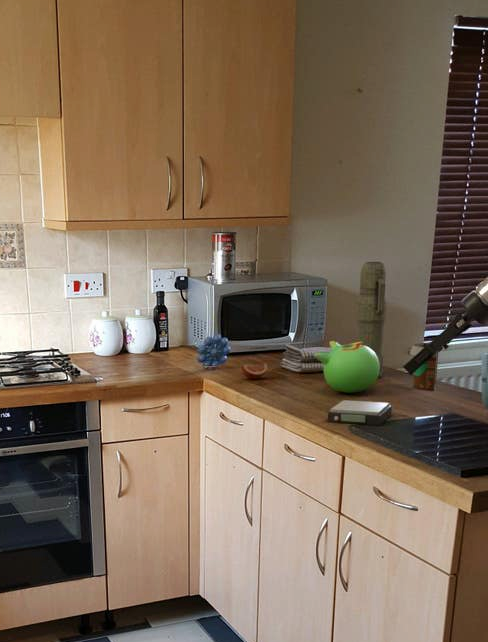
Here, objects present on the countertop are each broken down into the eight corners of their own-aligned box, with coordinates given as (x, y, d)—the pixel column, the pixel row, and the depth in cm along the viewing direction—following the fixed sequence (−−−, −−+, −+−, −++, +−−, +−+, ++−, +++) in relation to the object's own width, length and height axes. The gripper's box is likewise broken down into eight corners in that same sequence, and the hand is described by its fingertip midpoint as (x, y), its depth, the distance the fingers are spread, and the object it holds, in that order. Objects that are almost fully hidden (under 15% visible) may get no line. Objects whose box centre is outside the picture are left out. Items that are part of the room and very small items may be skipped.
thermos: (368, 379, 273) (374, 263, 262) (345, 374, 283) (350, 262, 272) (391, 377, 277) (397, 261, 265) (367, 372, 287) (373, 261, 276)
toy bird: (370, 399, 244) (373, 346, 240) (311, 396, 251) (313, 344, 246) (384, 388, 260) (386, 337, 255) (328, 385, 267) (329, 336, 262)
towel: (301, 374, 286) (301, 350, 284) (279, 366, 303) (279, 343, 300) (343, 371, 290) (344, 347, 287) (319, 363, 307) (320, 341, 304)
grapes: (227, 366, 307) (227, 331, 303) (232, 369, 300) (232, 334, 296) (194, 368, 305) (194, 333, 301) (199, 371, 298) (198, 335, 294)
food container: (410, 383, 214) (412, 341, 211) (436, 383, 212) (439, 341, 209) (406, 391, 203) (408, 347, 200) (433, 392, 201) (436, 348, 198)
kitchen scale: (378, 426, 213) (379, 413, 212) (326, 422, 219) (327, 409, 218) (391, 415, 224) (391, 402, 223) (341, 411, 230) (342, 399, 229)
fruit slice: (263, 376, 285) (263, 361, 283) (271, 379, 279) (271, 364, 277) (239, 378, 283) (239, 362, 281) (246, 381, 277) (246, 365, 275)
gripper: (490, 319, 185) (412, 387, 197) (504, 308, 206) (433, 370, 217) (466, 293, 186) (390, 362, 197) (482, 285, 206) (412, 348, 218)
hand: (412, 366), depth 207 cm, fingers closed on food container, 12 cm apart
